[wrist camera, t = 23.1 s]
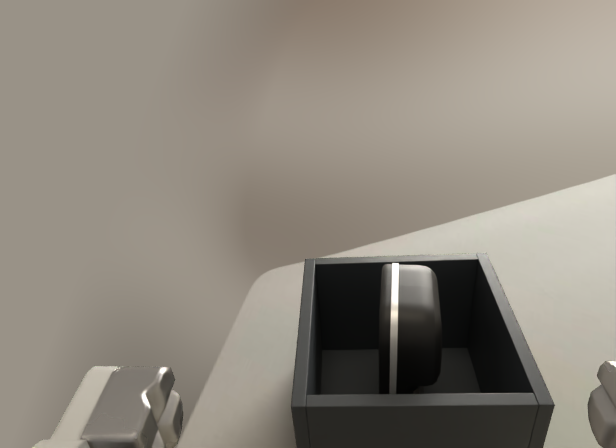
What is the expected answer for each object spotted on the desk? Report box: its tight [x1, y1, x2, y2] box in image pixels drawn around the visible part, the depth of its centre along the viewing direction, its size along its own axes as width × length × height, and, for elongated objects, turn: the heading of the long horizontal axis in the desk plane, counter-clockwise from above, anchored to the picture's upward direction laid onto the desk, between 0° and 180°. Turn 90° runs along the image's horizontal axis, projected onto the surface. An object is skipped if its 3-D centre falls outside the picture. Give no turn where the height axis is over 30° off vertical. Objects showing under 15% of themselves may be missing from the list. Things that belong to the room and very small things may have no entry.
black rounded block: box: [379, 263, 442, 394], centre depth 33 cm, size 7×4×11 cm, turn 171°
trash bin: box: [291, 253, 555, 448], centre depth 34 cm, size 14×14×10 cm
